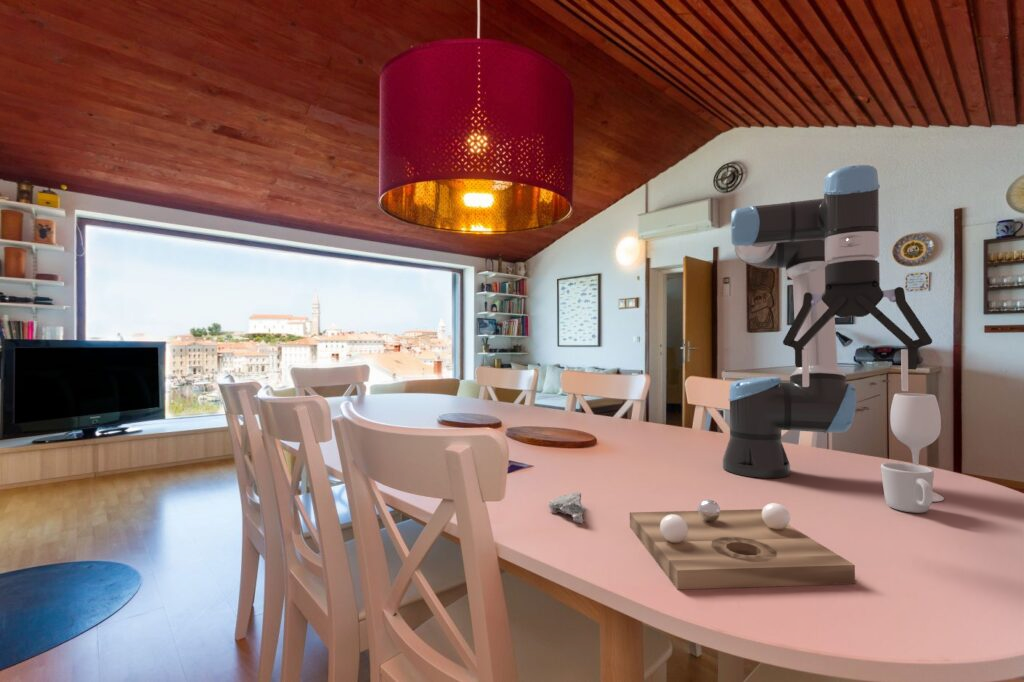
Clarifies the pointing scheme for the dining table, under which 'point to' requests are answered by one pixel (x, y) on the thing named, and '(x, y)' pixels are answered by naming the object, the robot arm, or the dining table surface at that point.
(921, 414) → the wineglass
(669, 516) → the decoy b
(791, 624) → the dining table surface
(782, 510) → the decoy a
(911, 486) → the cup
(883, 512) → the dining table surface
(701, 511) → the steel ball
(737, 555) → the board
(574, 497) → the stone
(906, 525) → the dining table surface
